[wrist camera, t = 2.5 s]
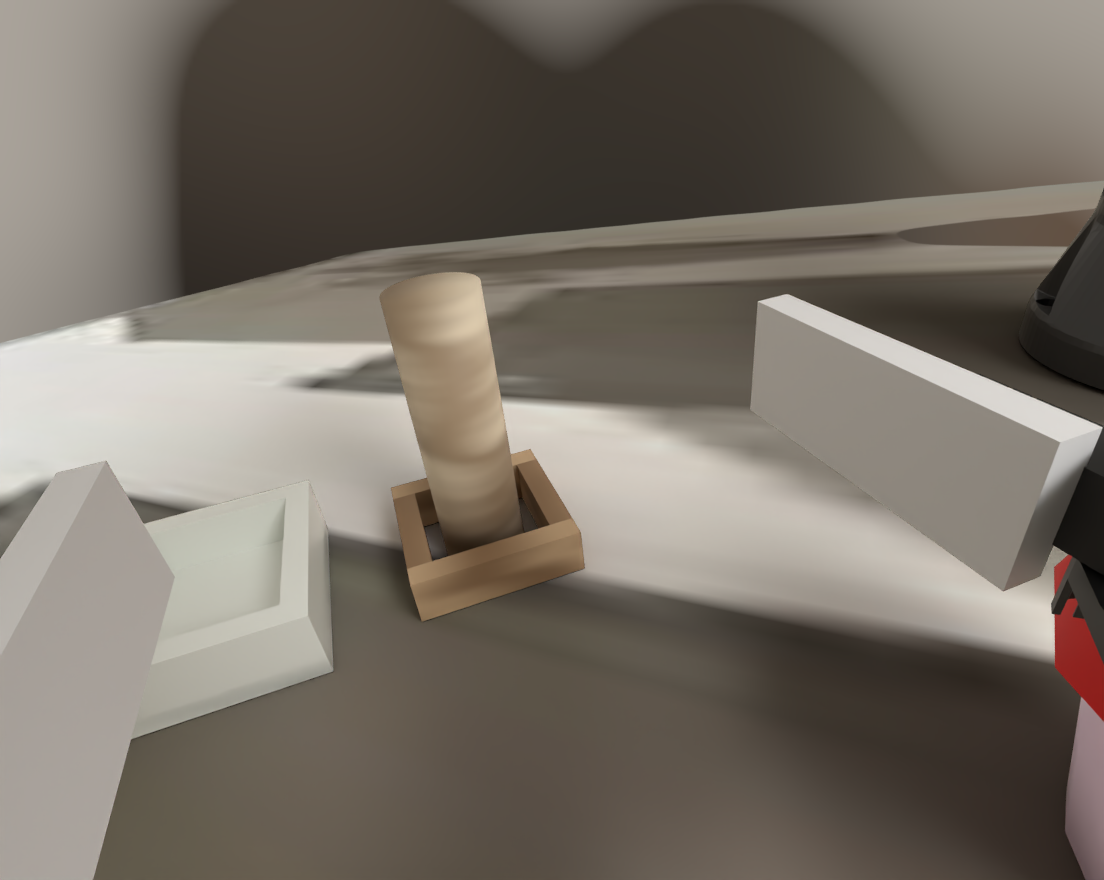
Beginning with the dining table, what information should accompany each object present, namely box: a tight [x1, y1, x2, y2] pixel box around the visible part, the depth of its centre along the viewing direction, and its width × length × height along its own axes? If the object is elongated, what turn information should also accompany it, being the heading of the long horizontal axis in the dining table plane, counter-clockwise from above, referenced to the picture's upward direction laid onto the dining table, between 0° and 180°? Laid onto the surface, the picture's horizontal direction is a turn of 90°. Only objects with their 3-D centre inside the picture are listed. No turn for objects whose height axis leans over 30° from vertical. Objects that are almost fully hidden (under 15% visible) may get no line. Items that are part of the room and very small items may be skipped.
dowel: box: [380, 272, 524, 556], centre depth 25 cm, size 4×4×12 cm
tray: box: [131, 480, 333, 739], centre depth 25 cm, size 9×9×3 cm
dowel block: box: [391, 449, 585, 622], centre depth 28 cm, size 7×7×2 cm
